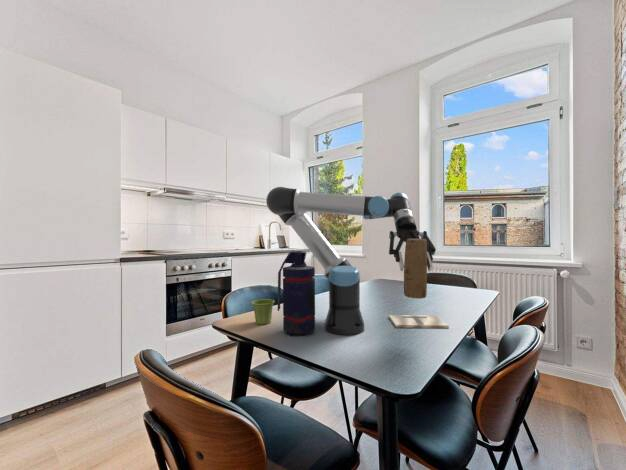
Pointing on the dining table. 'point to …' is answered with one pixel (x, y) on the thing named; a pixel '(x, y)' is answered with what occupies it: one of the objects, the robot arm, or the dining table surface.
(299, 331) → the grenade
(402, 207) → the robot arm
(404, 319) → the letter board
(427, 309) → the dining table surface
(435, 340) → the dining table surface
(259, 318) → the plant pot
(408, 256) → the block
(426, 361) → the dining table surface
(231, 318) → the dining table surface
